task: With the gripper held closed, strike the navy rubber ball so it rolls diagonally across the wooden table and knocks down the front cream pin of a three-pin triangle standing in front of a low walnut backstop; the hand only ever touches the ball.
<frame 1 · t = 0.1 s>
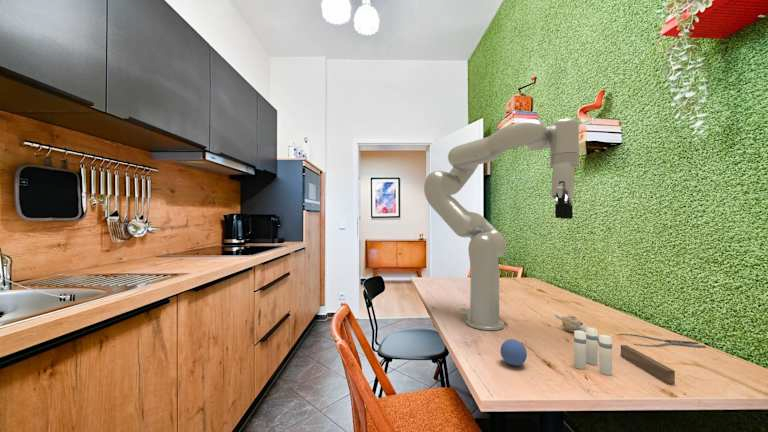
hand: (564, 218, 90), 37 cm above the table, tool pointing down, fingers open, 9 cm apart
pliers: (658, 342, 91), on the table
pin back right: (605, 372, 71), on the table
ball: (513, 352, 74), on the table
backstop: (645, 369, 73), on the table
pin front: (580, 366, 74), on the table
pin back left: (591, 362, 76), on the table
toy: (577, 334, 97), on the table
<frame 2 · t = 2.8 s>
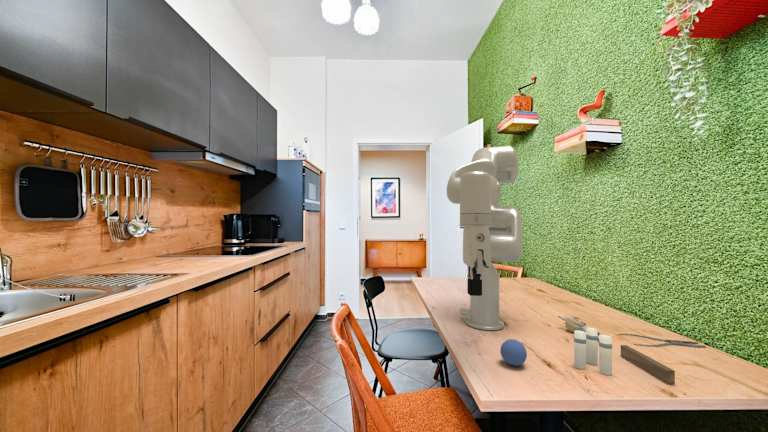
hand: (474, 294, 75), 17 cm above the table, tool pointing down, fingers closed
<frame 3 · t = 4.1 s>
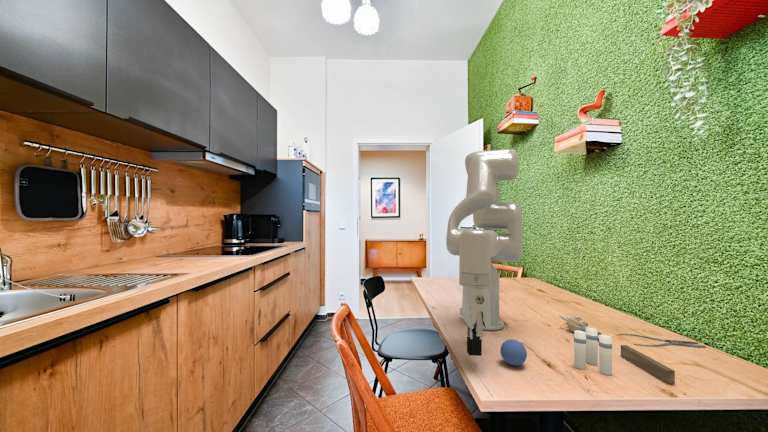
hand: (474, 354, 74), 2 cm above the table, tool pointing down, fingers closed
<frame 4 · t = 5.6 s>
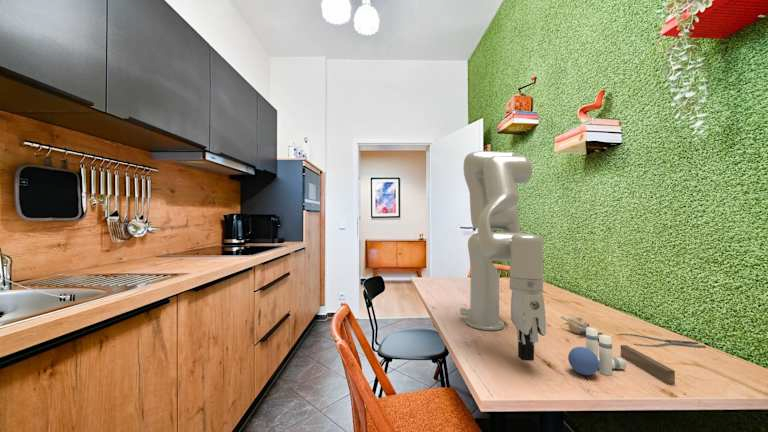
hand: (526, 358, 74), 2 cm above the table, tool pointing down, fingers closed
ball: (583, 360, 70), on the table
pin front: (586, 362, 73), point 1 cm above the table, tilted 90°
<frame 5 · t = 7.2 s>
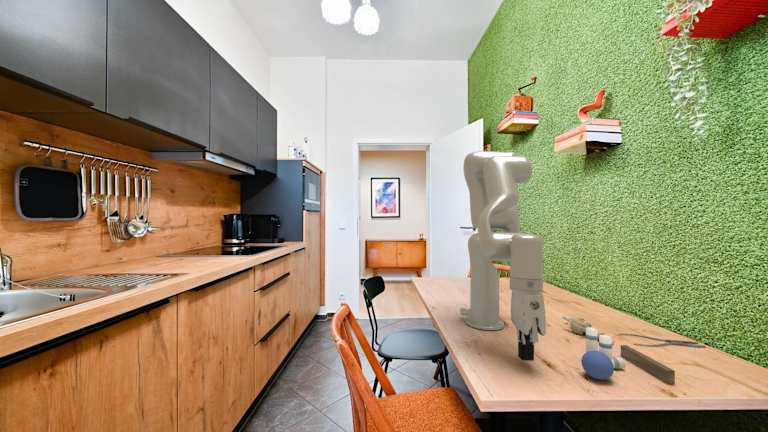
hand: (526, 358, 74), 2 cm above the table, tool pointing down, fingers closed
ball: (597, 364, 68), on the table
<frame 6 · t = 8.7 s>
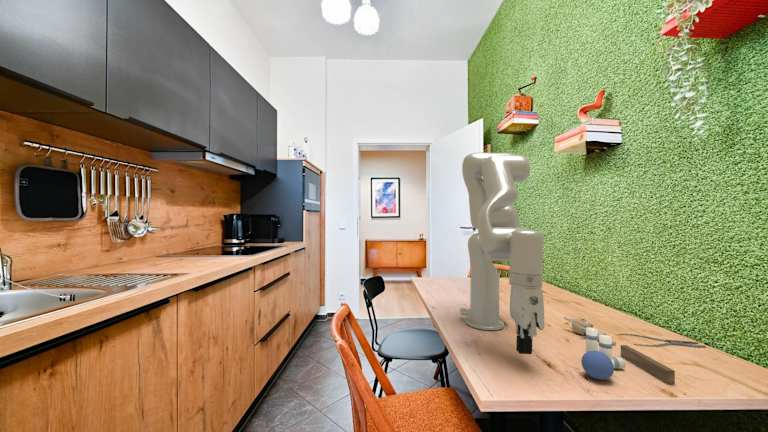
hand: (524, 352, 75), 3 cm above the table, tool pointing down, fingers closed
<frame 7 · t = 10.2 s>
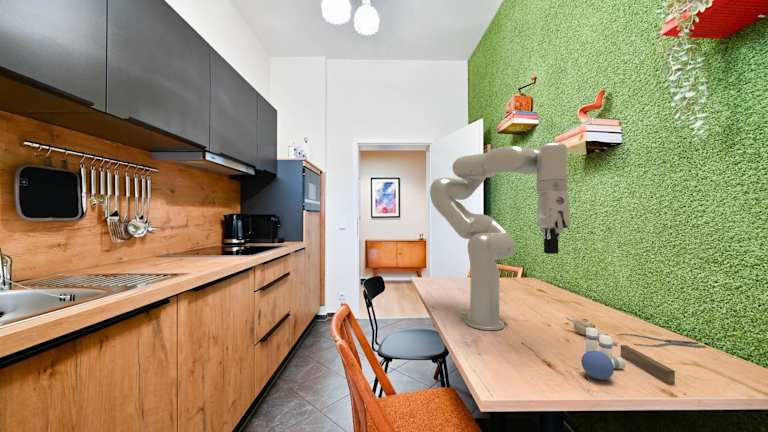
hand: (551, 253, 85), 27 cm above the table, tool pointing down, fingers closed
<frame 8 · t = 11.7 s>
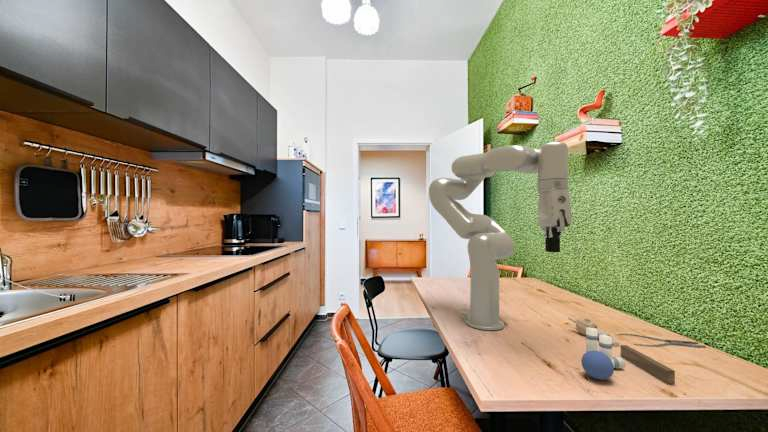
hand: (552, 251, 85), 27 cm above the table, tool pointing down, fingers closed
pin front: (585, 362, 74), point 1 cm above the table, tilted 90°, touching pin back left
pin back left: (591, 362, 76), on the table, touching pin front
at the end: pin front tilted 90°; pin front never touched the robot; ball moved 17.5 cm from its start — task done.
